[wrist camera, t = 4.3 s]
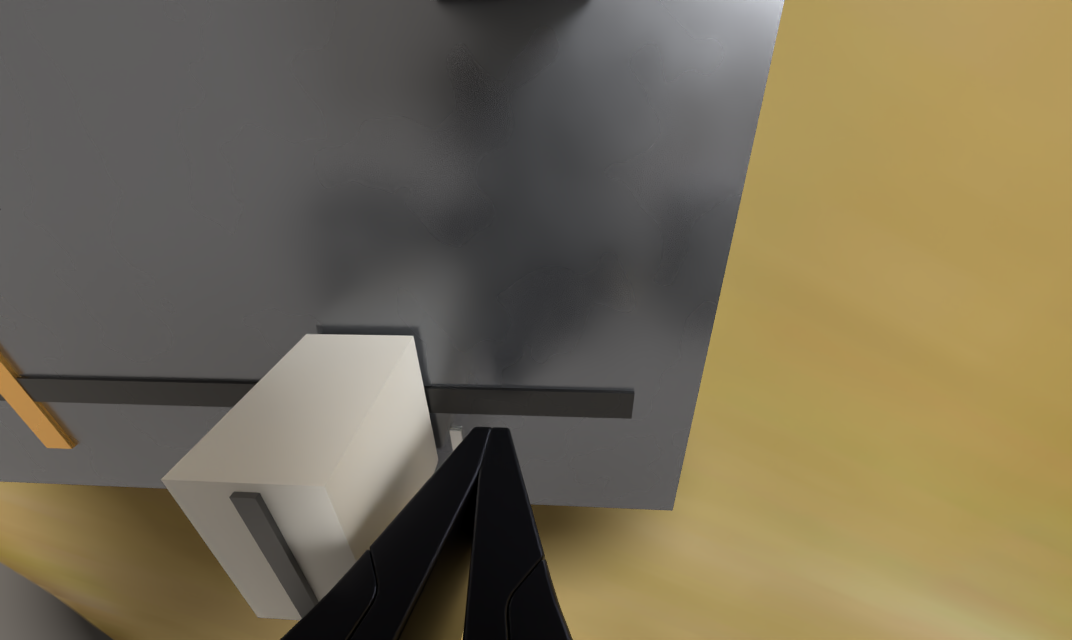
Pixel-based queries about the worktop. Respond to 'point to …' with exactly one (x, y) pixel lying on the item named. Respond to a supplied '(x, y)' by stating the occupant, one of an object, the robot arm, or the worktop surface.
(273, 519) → the block
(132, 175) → the panel
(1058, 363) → the worktop surface
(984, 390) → the worktop surface
